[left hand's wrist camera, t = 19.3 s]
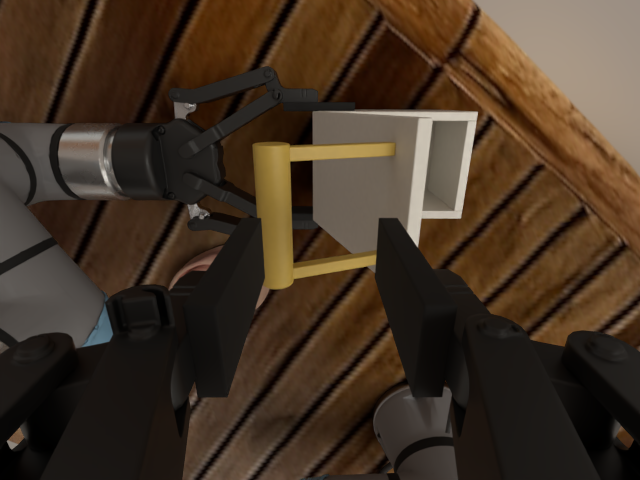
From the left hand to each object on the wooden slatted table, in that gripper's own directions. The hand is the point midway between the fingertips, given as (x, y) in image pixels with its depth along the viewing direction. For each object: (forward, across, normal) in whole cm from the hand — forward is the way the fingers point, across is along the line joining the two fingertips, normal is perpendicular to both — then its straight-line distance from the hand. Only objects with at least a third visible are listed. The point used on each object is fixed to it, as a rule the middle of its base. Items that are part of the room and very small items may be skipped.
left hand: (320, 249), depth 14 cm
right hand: (+22, -3, 0) cm, 22 cm away
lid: (+12, -3, 0) cm, 12 cm away
